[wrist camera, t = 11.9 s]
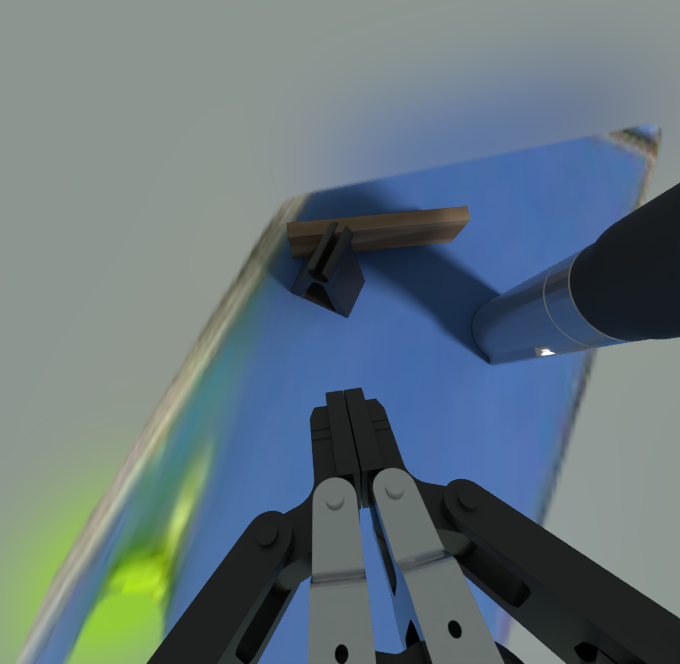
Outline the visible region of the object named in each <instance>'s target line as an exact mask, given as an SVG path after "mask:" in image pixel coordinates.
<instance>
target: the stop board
mask: <svg viewBox="0 0 680 664" xmlns="http://www.w3.org/2000/svg"><path fill="white" fill-rule="evenodd" d="M469 221H470V216H469V212H468V208H467V206H463V207H452V208H442V209H431V210H420V211H410V212H399V213H388V214H378V215H367V216H356V217H346V218H335V219H324V220H313V221H303V222H292V223H287V228H288V237H289V242H290V247H291V251H292V256H293V259H294V258H303V257H308V256H309V255H310V254H311V252H312V251H313V250H314V249H315V248H316V247H317V246H318V245H319V243H320V241H321V239H322V237H323V235H324V233H325V231H326V229H327V227H328V225H329V223H331V222H338V226H337V228H336V230H335V232H334V233H335V235H336V236H339V237H340V235H341V233H342V231H343V229H344V227H345V226H347V227H348V228H349V229H350V230H351V231H352V233H353V238H352V241H351V244H352V247H353V250H354V252H361V251H371V250H380V249H390V248H400V247H409V246H419V245H428V244H438V243H448V242H452V241H453V239H454V238H455V237H456V236H457V235H458V234H459V232H460V231H461V230H462V229H463V228H464V226H465V225H466V224H467V223H468V222H469Z"/></svg>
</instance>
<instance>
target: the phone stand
mask: <svg viewBox="0 0 680 664" xmlns="http://www.w3.org/2000/svg"><path fill="white" fill-rule="evenodd" d="M337 226H338V222H331V223H329V225H328V227H327V229H326V231H325V233H324V235H323V237H322V239H321V241H320V243H319V245H318V246H317V247H316V248H315V249H314V250H313V251H312V252H311V254H310V255H309V256H308V258H307V259H306V261H305V263H304V265H303V267H302V269H301V271H300V273H299V275H298V277H297V279H296V281H295V283H294V285H293V286H292V288H291V290H290V292H291V293H293V294H295V295H297V296H300V297H302V298H304V299H306V300H309V301H311V302H313V303H315V304H317V305H320V306H322V307H324V308H326V309H328V310H331V311H333V312H335V313H337V314H339V315H342V316H344V317H346V318H348V317H349V315H350V313H351V310H352V308H353V306H354V304H355V302H356V300H357V297H358V295H359V293H360V291H361V289H362V287H363V284H364V282H365V280H364V277H363V275H362V272H361V269H360V266H359V264H358V261H357V258H356V255H355V253H354V250H353V247H352V244H351V241H352V238H353V233H352V231H351V230H350V229H349V228H348V227H347V226H345V227H344V229H343V231H342V233H341V235H340V237H339V236H336V235H335V233H334V232H335V230H336V228H337Z"/></svg>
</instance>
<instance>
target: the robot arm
mask: <svg viewBox="0 0 680 664" xmlns="http://www.w3.org/2000/svg"><path fill="white" fill-rule="evenodd" d="M472 333H473V337H474V340H475V342H476V344H477V346H478V347H479V348H480V350H481V351H482V352H483V353H484V354H485V355H486V356H487V357H488V358H489V361H490V364H491V365H497V364H504V363H511V362H518V361H525V360H532V359H538V358H544V357H550V356H556V355H562V354H568V353H574V352H580V351H585V350H587V349H593V348H599V347H605V346H610V345H616V344H622V343H628V342H634V341H641V340H648V339H670V338H677V337H680V183H679V184H677V185H675V186H674V187H672V188H670V189H669V190H667V191H666V192H664V193H662V194H661V195H659V196H658V197H656V198H654V199H653V200H651V201H650V202H648V203H646V204H645V205H643V206H642V207H640V208H638V209H637V210H635V211H634V212H632V213H630V214H629V215H627V216H626V217H624V218H622V219H621V220H619V221H618V222H616V223H615V224H613V225H612V226H610V227H609V228H608V229H607V230H606V231H605V232H604V233H603V234H602V235H601V236H600V237H599V238H598V239H597V241H596V242H595V243H593V244H592V245H590V246H588V247H586V248H584V249H582V250H581V251H579V252H577V253H575V254H573V255H572V256H570V257H568V258H566V259H564V260H563V261H561V262H559V263H557V264H555V265H554V266H552V267H550V268H548V269H546V270H545V271H543V272H541V273H539V274H537V275H536V276H534V277H532V278H530V279H528V280H527V281H525V282H523V283H521V284H519V285H518V286H516V287H514V288H512V289H510V290H509V291H507V292H505V293H503V294H501V295H500V296H498V297H496V298H494V299H492V300H490V301H489V302H487V303H485V304H484V305H483V306H481V307H480V308H479V309H478V311H477V312H476V313H475V316H474V318H473V323H472ZM325 394H326V403H327V406H323V407H316V408H314V410H313V412H312V415H311V417H310V427H311V440H312V454H313V468H314V486H313V489H312V492H311V494H310V495H309V497H308V498H307V499H306V500H305V501H304V502H303V503H302V504H301V505H299V506H297V507H296V508H294V509H292V510H290V511H288V512H287V513H285V514H283V513H281V512H278V511H268V512H264V513H262V514H260V515H259V516H257V517H256V518H255V519H254V520H253V521H252V522H251V523H250V525H249V526H248V527H247V529H246V530H245V531H244V533H243V534H242V535H241V537H240V538H239V539H238V541H237V542H236V543H235V545H234V546H233V547H232V549H231V550H230V552H229V553H228V554H227V556H226V557H225V558H224V560H223V561H222V562H221V564H220V565H219V566H218V568H217V569H216V570H215V572H214V573H213V575H212V576H211V577H210V579H209V580H208V581H207V583H206V584H205V585H204V587H203V588H202V589H201V591H200V592H199V593H198V595H197V596H196V597H195V599H194V600H193V602H192V603H191V604H190V606H189V607H188V608H187V610H186V611H185V612H184V614H183V615H182V616H181V618H180V619H179V620H178V622H177V623H176V625H175V626H174V627H173V629H172V630H171V631H170V633H169V634H168V635H167V637H166V638H165V639H164V641H163V642H162V643H161V645H160V646H159V647H158V649H157V650H156V652H155V653H154V654H153V656H152V657H151V658H150V660H149V661H148V662H147V664H257V663H258V661H259V659H260V658H261V656H262V654H263V652H264V650H265V648H266V646H267V645H268V643H269V641H270V639H271V637H272V635H273V633H274V631H275V630H276V628H277V626H278V624H279V622H280V620H281V618H282V617H283V615H284V613H285V611H286V609H287V607H288V605H289V604H290V602H291V600H292V598H293V596H294V594H295V592H296V591H297V589H298V587H299V585H300V583H301V582H302V581H304V580H306V579H307V578H309V577H310V576H312V577H311V581H310V590H309V643H308V664H524V663H523V662H522V661H521V660H520V659H519V658H518V657H517V656H515V655H514V654H513V653H512V652H510V651H509V650H508V649H507V648H505V647H504V646H502V645H500V644H499V643H497V642H496V641H494V640H493V638H492V636H491V633H490V631H489V629H488V627H487V625H486V623H485V620H484V618H483V616H482V614H481V612H480V610H479V607H478V605H477V603H476V601H475V599H474V597H473V594H472V592H471V590H470V588H469V586H468V584H467V581H466V579H465V577H464V575H465V576H466V577H467V578H468V579H469V580H470V581H472V582H473V583H474V584H475V585H476V586H477V587H479V588H480V589H481V590H482V591H483V592H484V593H485V594H487V595H488V596H489V597H490V598H491V599H492V600H494V601H495V602H496V603H497V604H498V605H499V606H500V607H502V608H503V609H504V610H505V611H506V612H507V613H509V614H510V615H511V616H512V617H513V618H514V619H515V620H517V621H518V622H519V623H520V624H521V625H522V626H523V627H525V628H526V629H527V630H528V631H529V632H531V633H532V634H533V635H534V636H535V637H536V638H537V639H538V640H540V641H541V642H542V643H543V644H544V645H545V646H547V647H548V648H549V649H550V650H551V651H552V652H554V653H555V654H556V655H557V656H558V657H559V658H560V659H562V660H563V661H564V662H565V663H566V664H680V618H678V617H677V616H675V615H674V614H672V613H671V612H669V611H668V610H666V609H665V608H663V607H662V606H660V605H659V604H657V603H656V602H654V601H653V600H651V599H650V598H648V597H646V596H645V595H643V594H642V593H640V592H639V591H638V590H636V589H635V588H633V587H631V586H630V585H628V584H627V583H626V582H624V581H622V580H621V579H619V578H618V577H616V576H615V575H613V574H612V573H610V572H609V571H607V570H606V569H604V568H603V567H601V566H600V565H598V564H597V563H595V562H594V561H592V560H591V559H589V558H588V557H586V556H585V555H583V554H582V553H580V552H579V551H577V550H576V549H574V548H572V547H571V546H570V545H568V544H567V543H565V542H564V541H562V540H561V539H559V538H558V537H556V536H555V535H553V534H551V533H550V532H549V531H547V530H545V529H544V528H542V527H541V526H539V525H538V524H536V523H535V522H533V521H532V520H530V519H529V518H527V517H526V516H524V515H523V514H521V513H520V512H518V511H517V510H515V509H514V508H512V507H511V506H509V505H508V504H506V503H505V502H503V501H502V500H500V499H499V498H497V497H496V496H494V495H493V494H491V493H490V492H488V491H487V490H485V489H484V488H482V487H481V486H479V485H478V484H476V483H474V482H472V481H470V480H466V479H456V480H453V481H451V482H450V483H449V484H448V485H447V486H442V485H436V484H430V483H425V482H422V481H420V480H418V479H416V478H415V477H413V476H412V475H411V474H410V473H409V472H408V471H407V469H406V468H405V466H404V463H403V461H402V458H401V455H400V452H399V449H398V446H397V443H396V441H395V438H394V435H393V432H392V430H391V426H390V423H389V421H388V418H387V415H386V412H385V409H384V407H383V406H382V405H381V404H380V403H379V402H378V401H377V400H376V399H370V400H365V398H364V395H363V391H362V388H356V389H349V390H344V394H343V390H342V391H335V392H328V393H325ZM361 501H362V506H363V508H368V507H369V508H370V512H371V517H372V528H373V534H374V537H375V541H376V544H377V548H378V552H379V555H380V559H381V562H382V566H383V569H384V573H385V576H386V580H387V583H388V587H389V591H390V594H391V598H392V603H393V610H394V615H395V620H396V624H397V628H398V631H399V635H400V639H401V642H402V646H403V649H404V651H403V652H401V653H399V654H390V653H384V652H378V651H375V648H374V640H373V631H372V622H371V613H370V604H369V596H368V587H367V579H366V574H365V567H364V559H363V550H362V541H361V532H360V515H359V509H361ZM463 574H464V575H463Z"/></svg>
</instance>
